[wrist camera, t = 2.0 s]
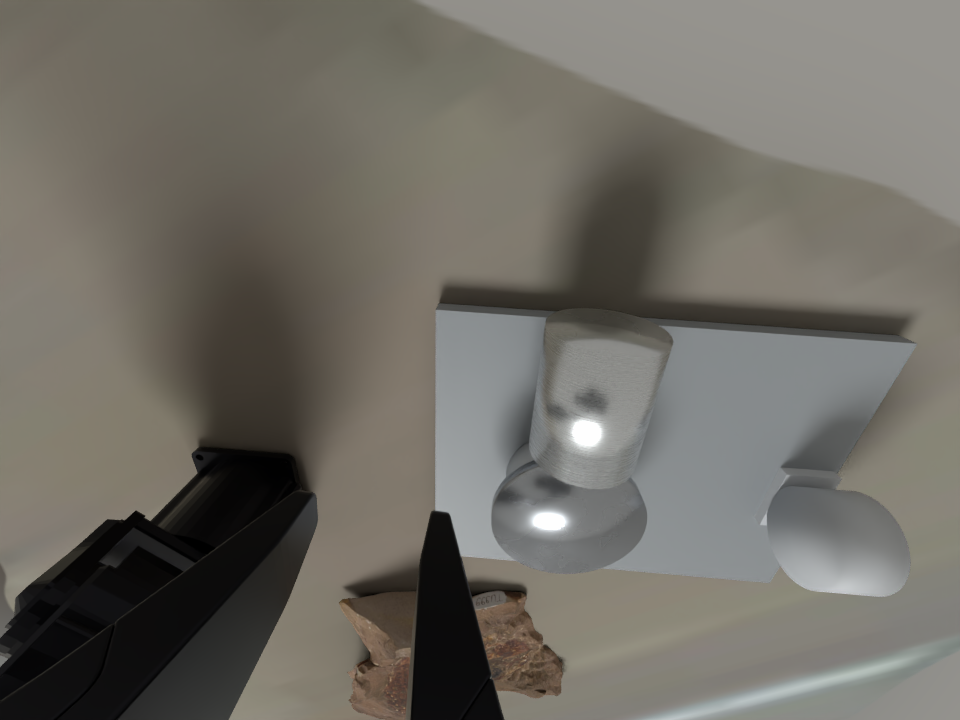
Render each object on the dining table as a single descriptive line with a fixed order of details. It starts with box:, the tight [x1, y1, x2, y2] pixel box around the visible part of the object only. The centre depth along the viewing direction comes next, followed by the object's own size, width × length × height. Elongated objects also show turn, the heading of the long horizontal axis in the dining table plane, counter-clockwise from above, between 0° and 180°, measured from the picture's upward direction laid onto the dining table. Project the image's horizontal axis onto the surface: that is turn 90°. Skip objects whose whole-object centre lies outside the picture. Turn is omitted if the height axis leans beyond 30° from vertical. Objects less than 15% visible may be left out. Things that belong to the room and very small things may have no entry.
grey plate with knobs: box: [435, 303, 917, 597], centre depth 21 cm, size 23×18×6 cm
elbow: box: [491, 308, 673, 574], centre depth 19 cm, size 15×8×5 cm, turn 177°
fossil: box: [339, 590, 563, 720], centre depth 33 cm, size 20×16×5 cm
